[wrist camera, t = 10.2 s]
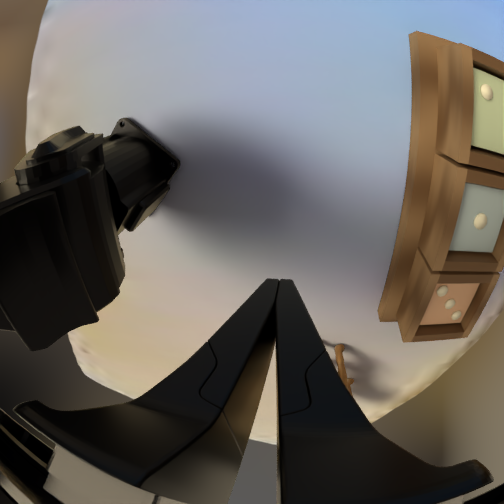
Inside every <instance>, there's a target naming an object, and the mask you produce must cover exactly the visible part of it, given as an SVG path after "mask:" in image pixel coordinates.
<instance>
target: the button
mask: <svg viewBox="0 0 504 504" xmlns="http://www.w3.org/2000/svg"><path fill="white" fill-rule="evenodd" d="M503 218H504V190H503V189H498V188H494V187H489V186H484V185H479V184H474V183H468V182H465V187H464V192H463V197H462V202H461V206H460V211H459V215H458V219H457V223H456V226H455V230H454V234H453V237H452V241H451V244H450V247H449V250H453V251H473V252H491V253H492V252H493V249H494V246H495V244H496V241H497V238H498V235H499V231H500V228H501V225H502V222H503Z"/></svg>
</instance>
